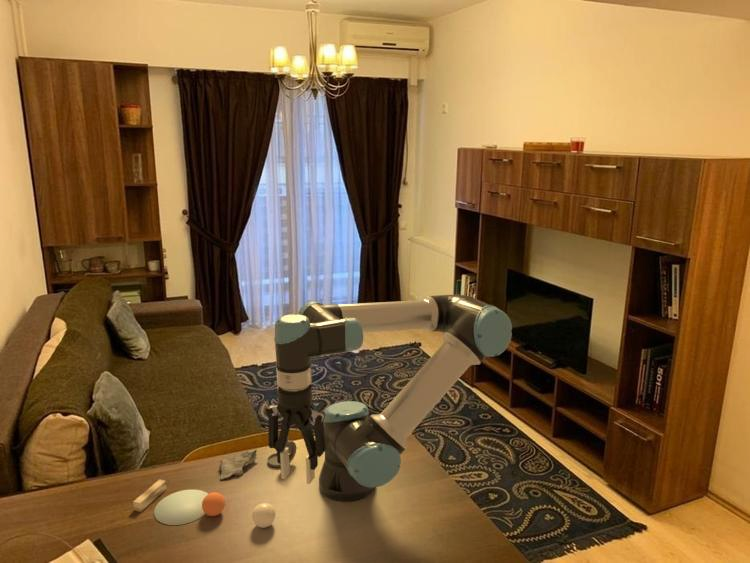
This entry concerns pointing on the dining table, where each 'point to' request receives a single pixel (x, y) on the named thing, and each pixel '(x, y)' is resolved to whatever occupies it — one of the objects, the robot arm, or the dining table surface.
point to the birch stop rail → (149, 495)
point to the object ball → (213, 504)
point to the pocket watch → (292, 451)
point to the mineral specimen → (236, 463)
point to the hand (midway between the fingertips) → (298, 477)
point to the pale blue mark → (180, 507)
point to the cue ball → (263, 515)
